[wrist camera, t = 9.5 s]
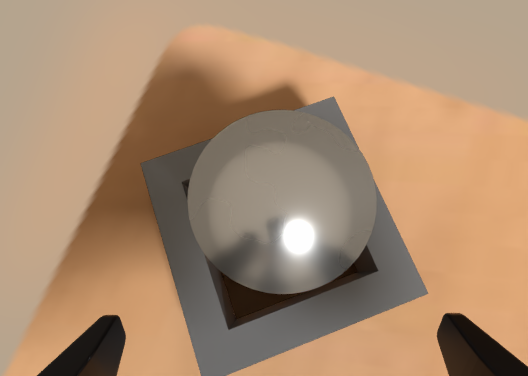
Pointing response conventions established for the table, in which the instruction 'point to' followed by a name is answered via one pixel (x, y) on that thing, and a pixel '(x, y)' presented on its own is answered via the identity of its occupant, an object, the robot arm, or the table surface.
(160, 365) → the table surface
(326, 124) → the steel shaft
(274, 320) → the grey square frame
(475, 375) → the robot arm
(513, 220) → the table surface
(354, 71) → the table surface
